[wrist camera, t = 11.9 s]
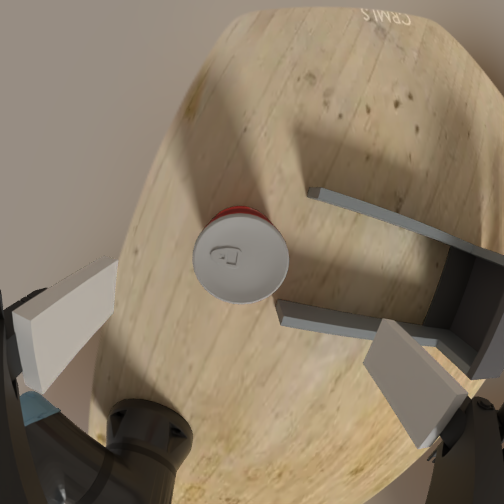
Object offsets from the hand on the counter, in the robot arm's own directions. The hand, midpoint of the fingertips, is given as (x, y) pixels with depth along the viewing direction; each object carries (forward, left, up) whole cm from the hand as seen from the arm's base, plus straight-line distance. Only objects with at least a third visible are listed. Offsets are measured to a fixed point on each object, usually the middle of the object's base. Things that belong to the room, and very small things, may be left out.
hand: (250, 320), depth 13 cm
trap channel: (+22, 0, -22) cm, 31 cm away
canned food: (0, 0, -22) cm, 22 cm away
